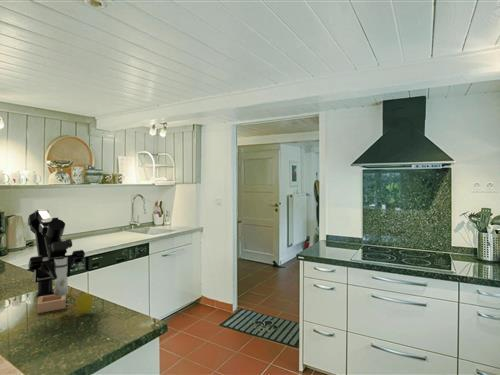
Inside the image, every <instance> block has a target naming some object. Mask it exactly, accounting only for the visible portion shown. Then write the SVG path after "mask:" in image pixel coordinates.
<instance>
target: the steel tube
mask: <svg viewBox="0 0 500 375" xmlns="http://www.w3.org/2000/svg"><path fill="white" fill-rule="evenodd" d="M54 273H55V276H56V279H55V280H54V279H53V282H54V294H55V296H63V295H68V293H69V292H68V290H69V288H68V287H69V285H68V284H69V283H68V281H69V277H68V258H67V257H61V258H56V259H54Z"/></svg>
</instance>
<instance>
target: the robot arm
mask: <svg viewBox="0 0 500 375" xmlns="http://www.w3.org/2000/svg"><path fill="white" fill-rule="evenodd" d="M27 226H28V227H29V230H30V231H31V232H32V233H33V234H34V235H35V243H36V244H35V245H36V251H37V255H36V256H35V255H34V256H31V257H30V258H29V261H28V271H31V272H33V271H34V272H33V274H32V276H33V277H32V278H33V282H34V284H35V283H37V292H36V296H35V297H41V296H47V295H54V294H55V288H54V284H53V283H54V280H55V279H56V276H55V273H54V259H56V258H61V257H67V258H68V278H69V277H70V276H71V268H72V266H74V264H80V263H82V262H83V261H84V258H85V256H86V253H85V251H84V250H83V249H79V250H73V251H72V254H67V253H68V249H70V248H72V247H73V240H72V239H71V238H69V239H65V240H62V236H63V234H64V232H65V228H66V222H64V221H63V220H61V219H59V217H52V216H51V214H50V213H49V209H45V208H43V209H41V208H40V209H35V210H34V212H32V213H31V214H29V215H28V218H27Z"/></svg>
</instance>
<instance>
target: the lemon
mask: <svg viewBox="0 0 500 375" xmlns="http://www.w3.org/2000/svg"><path fill="white" fill-rule="evenodd" d="M93 303H94V302H93V298H92V296H91V295H90V294H88V293H85V292H83V293H82V294H81V295H79V296H78V298H76V302H75V307H76V310H77V312H78V313H79V314H83V315H86V314H87V313H88V312H90V310H92V308H93Z"/></svg>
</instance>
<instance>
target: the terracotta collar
mask: <svg viewBox="0 0 500 375" xmlns="http://www.w3.org/2000/svg"><path fill="white" fill-rule="evenodd" d="M66 295H67V294H66ZM66 295H63V296H55V293H54V294H48V295H42V296H38V298H37V299H38V300H37V303H36V306H37V307H36V310H37V312H36V313H37V314H43V313H47V312H53V311H57V310H64V309H66V308H67V305H66V304H67V300H66V299H67V297H66Z"/></svg>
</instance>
